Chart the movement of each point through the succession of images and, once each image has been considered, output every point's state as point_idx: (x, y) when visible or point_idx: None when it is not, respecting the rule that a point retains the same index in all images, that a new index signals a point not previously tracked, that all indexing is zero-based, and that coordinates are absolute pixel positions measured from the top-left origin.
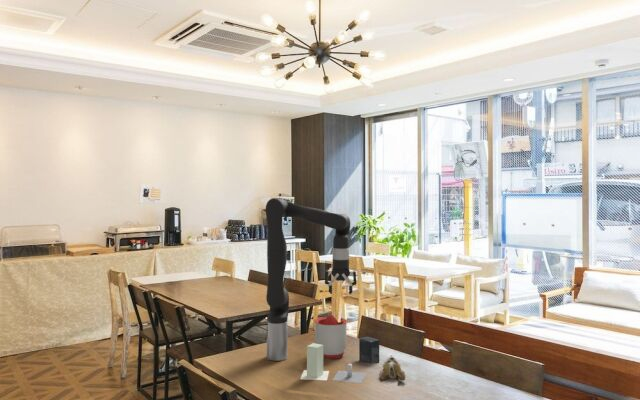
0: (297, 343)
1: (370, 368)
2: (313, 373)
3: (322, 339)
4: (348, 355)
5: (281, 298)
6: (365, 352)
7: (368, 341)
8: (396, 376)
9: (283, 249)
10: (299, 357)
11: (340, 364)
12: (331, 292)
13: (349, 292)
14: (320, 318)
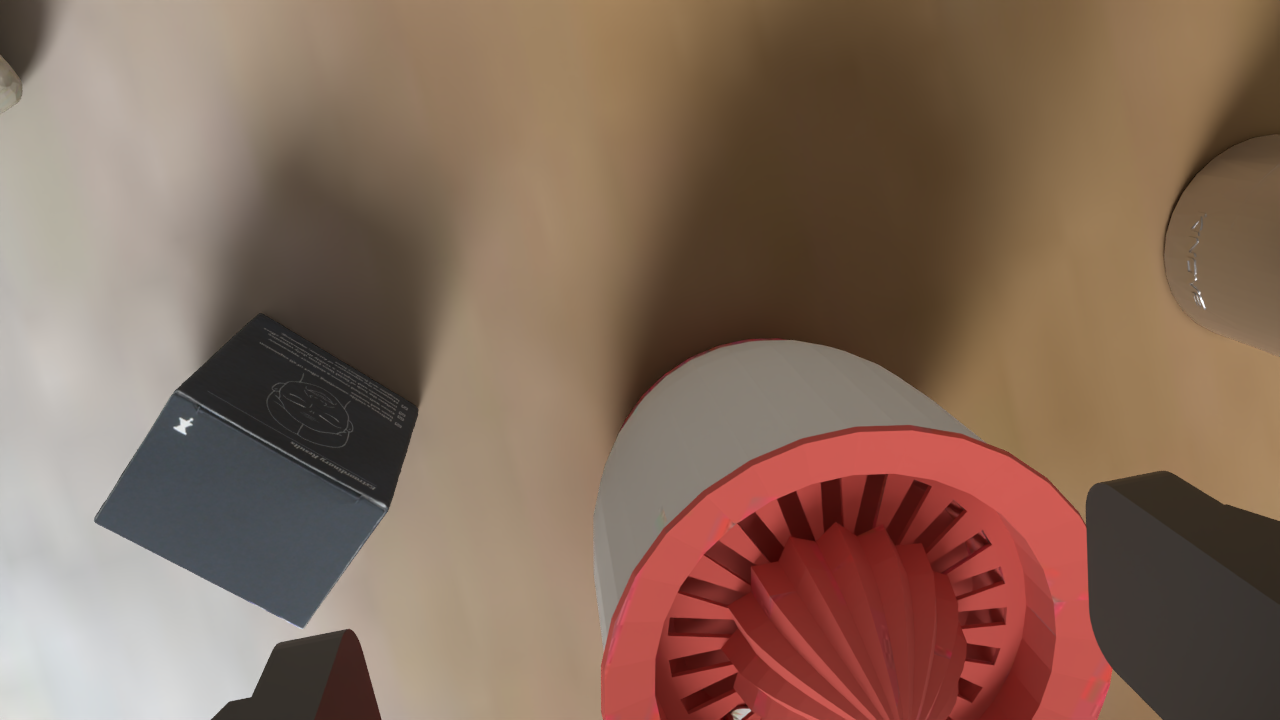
0: (1142, 717)
1: (237, 206)
2: None
3: (872, 371)
4: (570, 534)
5: None
6: (312, 391)
7: (224, 416)
8: None
9: None
10: (1044, 323)
11: (584, 237)
12: (1135, 489)
13: (317, 668)
14: None
